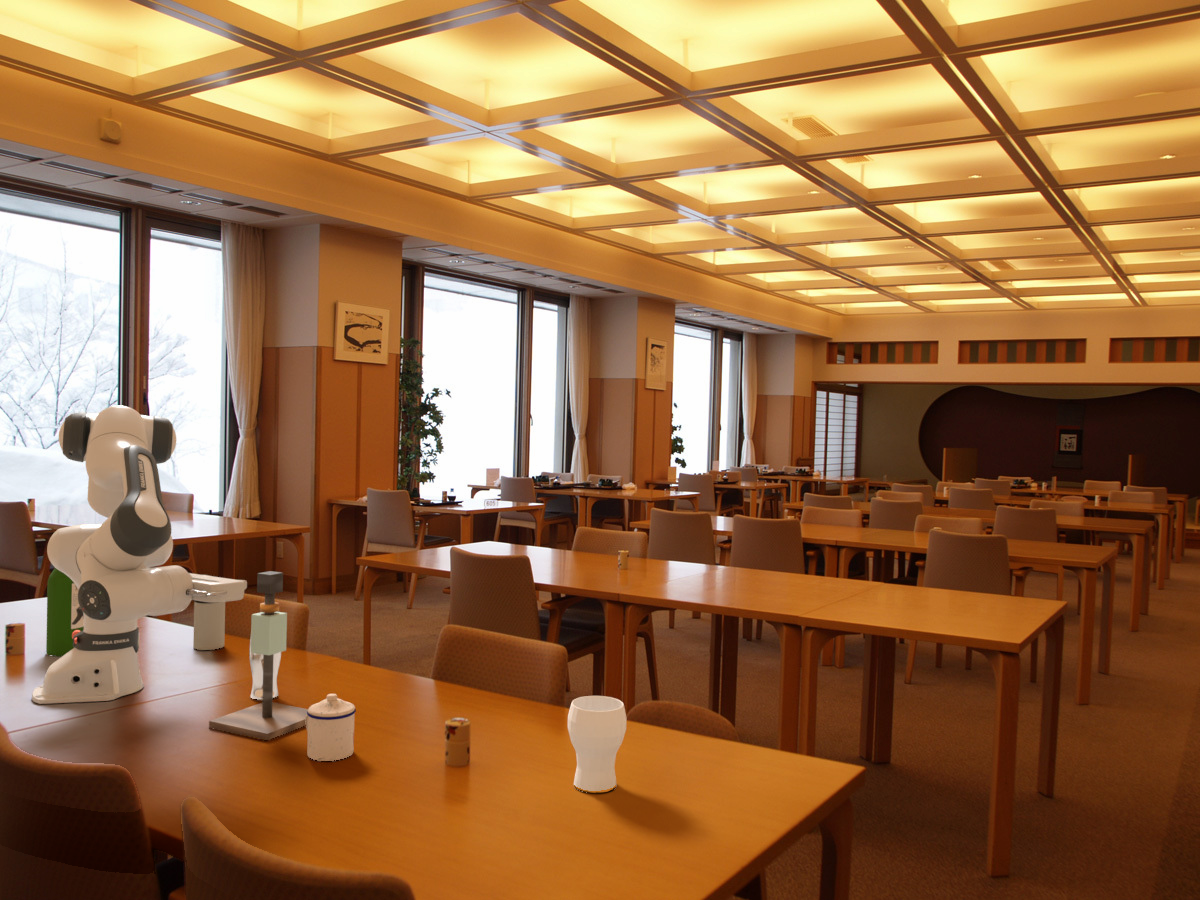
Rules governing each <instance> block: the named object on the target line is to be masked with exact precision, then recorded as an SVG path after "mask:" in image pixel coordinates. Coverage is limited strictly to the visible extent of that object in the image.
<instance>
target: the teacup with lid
mask: <svg viewBox="0 0 1200 900" xmlns="http://www.w3.org/2000/svg"><path fill="white" fill-rule="evenodd" d="M356 712H357V709H356V706H355V705H354V703H351V702H349V701H346V700H343V699H341V698H339V697H338V695H337V694H336V693H328V694H327V695H326V698H325V699H323V700H321V701H319V702H317V703H314V704H311V705H310V706H309V707H308V711H307V715H306V718H305V725H306V726H305V729H306V732H307V744H306V745H307V746H306V747H307V749H306V751H307V752H306V753H307V754H306V755H307V757H308V758H309V759H310V758H311V759H310V760H312V759H313V760H312V761H315V760H317V761H316V762H321V761H332V762H337V761H336V760H339V761H341V760H340V759H343V760H345V759H344V758H346V759H348V758H349V756H350V757H351V756H352V755H353V753H354V750H355V749H354V747H355V745H354V744H355V713H356ZM347 757H348V758H347ZM334 760H335V761H334Z"/></svg>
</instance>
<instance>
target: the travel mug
mask: <svg viewBox="0 0 1200 900" xmlns="http://www.w3.org/2000/svg"><path fill="white" fill-rule="evenodd" d="M225 626H226V602H216V603H211V602H202V601H196V600H193V641H192V642H193V644H192V645H193V647H192V648H193V649H194V650H196V649H197V651H201V650H210V651H216V650H215V649H217V650H220V649H222V648H223V647H225V639H226V638H225V635H226V633H225V631H226V627H225ZM219 648H220V649H219Z"/></svg>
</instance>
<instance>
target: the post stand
mask: <svg viewBox="0 0 1200 900" xmlns="http://www.w3.org/2000/svg"><path fill="white" fill-rule="evenodd" d="M256 575H257V577H256V579H257V580H256V582H257V583H256V592H257V593H261V594H264V602H260V603H259V613H260V612H264V615H269V616H270V615H274V612H280V602H277V601H275V600H276V597H275V596H276V594H278V593H283V591H284V590H283V588H284V585H283V584H284V572H280V571H273V570H272V571H271V570H269V571H264V572H258V573H257V574H256ZM273 657H274V654H272V655H263V700H261V701H262V702H260V703H257V704H254V705H251V706H248V707H245V708H243V709H239V710H237V711H233V712H231V713H228V714H225V715H222V716H220V717H216V718H214V719H211V720H208V728H209V729H211V728H214V729H213V730H215V729H218V730H217V731H220V730H222V731H221V732H224V731H226V732H225V733H229V732H231V733H230V734H233V733H236V734H235V735H238V734H240V735H239V736H242V735H245V736H244V737H246V736H250V737H249V738H251V737H255V738H259V739H258V740H260V739H264V740H269V741H271V740H270V739H272V738H274V739H276V738H275V737H277V736H279V737H281V736H280V735H282V736H284V735H286V733H287V734H289V733H292V732H294V731H296V730H295V729H297V730H299V729H301V727H302V728H304V727H306V726H305V718H306V715H307V711H308V709H307V708H303V707H297V706H293V705H287V704H284V703H279V702H273ZM303 726H304V727H303ZM298 728H299V729H298ZM293 730H294V731H293ZM291 731H292V732H291ZM288 732H289V733H288ZM283 734H284V735H283ZM255 738H254V739H255ZM277 738H278V737H277ZM264 740H263V741H264ZM272 740H273V739H272Z"/></svg>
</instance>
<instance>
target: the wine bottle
mask: <svg viewBox="0 0 1200 900" xmlns="http://www.w3.org/2000/svg"><path fill="white" fill-rule="evenodd" d="M46 583H47V586H46V587H47V588H46V590H47V591H46V592H47V593H46V641H45V642H46V643H45V644H46V645H45V647H46V651H45V652H46V655H47V654H48V655H47V656H49V655H53V656H52V657H62V656H64V655H65V654H66V653H68V652H69V651H70V650H72V649H73V648H74V647H73V638H72V633H73V632H74V631H75V630H80V632H81V631H83V630H84V616H83V611H82V610H81V608H80V606H79V602H78V588H77V586H76V585H75V583H74V582H73V581H72V580H71V579H70V578H69V577H68V576H67V575H66V574H64V573H63V572H61V571H59V570H58V569H56V568H55V567H54V569H53V570H52V572H51V573H50V574H49V576H48V579H47V582H46Z"/></svg>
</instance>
